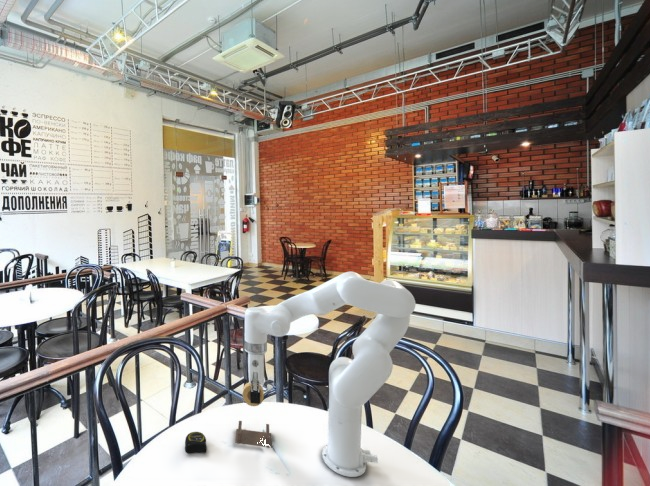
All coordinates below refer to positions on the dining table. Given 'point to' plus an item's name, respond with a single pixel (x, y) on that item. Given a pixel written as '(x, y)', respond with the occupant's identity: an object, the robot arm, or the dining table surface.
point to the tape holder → (252, 436)
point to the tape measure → (195, 443)
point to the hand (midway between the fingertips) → (255, 399)
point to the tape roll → (247, 394)
